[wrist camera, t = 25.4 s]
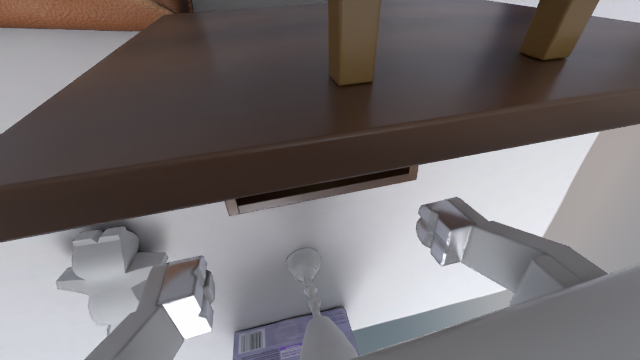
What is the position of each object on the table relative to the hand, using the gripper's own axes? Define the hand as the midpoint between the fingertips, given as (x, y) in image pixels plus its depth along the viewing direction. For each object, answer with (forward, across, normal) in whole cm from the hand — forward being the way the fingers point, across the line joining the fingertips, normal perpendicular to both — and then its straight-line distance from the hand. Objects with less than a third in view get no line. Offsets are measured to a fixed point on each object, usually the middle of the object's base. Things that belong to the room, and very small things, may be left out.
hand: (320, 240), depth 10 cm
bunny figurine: (+19, +19, +17) cm, 32 cm away
